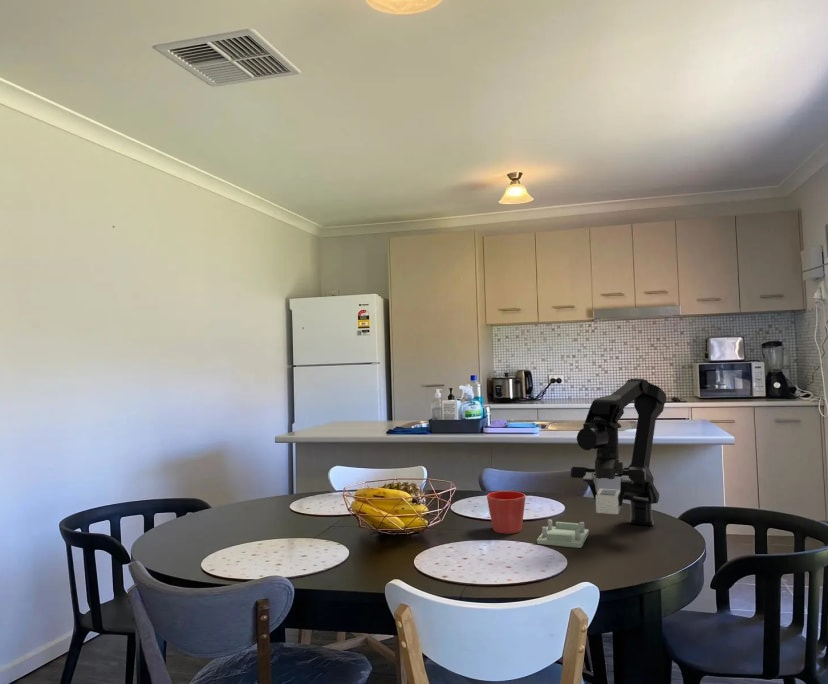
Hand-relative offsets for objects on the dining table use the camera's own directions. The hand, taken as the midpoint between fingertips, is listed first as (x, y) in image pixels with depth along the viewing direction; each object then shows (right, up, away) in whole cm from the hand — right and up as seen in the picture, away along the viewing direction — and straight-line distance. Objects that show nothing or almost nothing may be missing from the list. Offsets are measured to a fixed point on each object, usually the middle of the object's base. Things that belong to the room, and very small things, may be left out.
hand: (608, 505), depth 165 cm
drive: (0, -1, 0) cm, 1 cm away
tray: (-13, -8, -2) cm, 15 cm away
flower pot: (-26, -9, +7) cm, 28 cm away
